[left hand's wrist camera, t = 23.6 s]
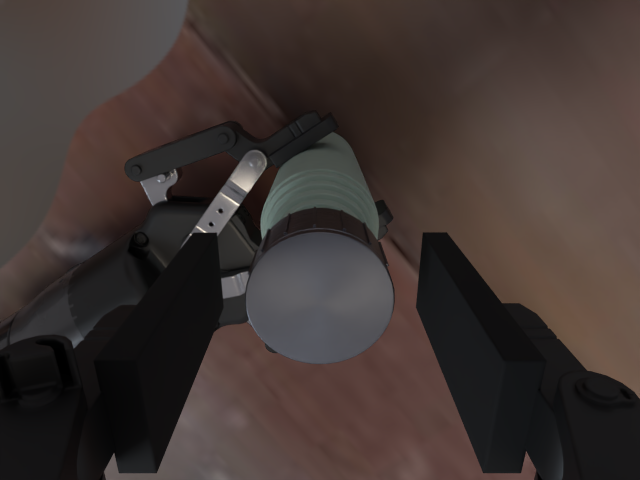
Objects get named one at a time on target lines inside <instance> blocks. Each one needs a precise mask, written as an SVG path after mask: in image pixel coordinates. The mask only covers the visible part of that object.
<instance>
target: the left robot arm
mask: <svg viewBox="0 0 640 480" xmlns="http://www.w3.org/2000/svg"><path fill="white" fill-rule="evenodd" d="M223 308H224V303H223V292H222V281H221V270H220V260H219V249H218V238H217V233H193V234H192V235H191V236H190V237H189V239H188V240H187V241H186V242H185V244H184V245H183V246H182V248H181V249H180V250H179V251H178V253H177V254H176V255H175V257H174V258H173V259H172V260H171V262H170V263H169V264H168V266H167V267H166V268H165V269H164V271H163V272H162V273H161V275H160V276H159V277H158V278H157V280H156V281H155V282H154V283H153V285H152V286H151V287H150V289H149V290H148V291H147V292H146V294H145V295H144V296H143V298H142V299H141V300H140V301H139V303H138V304H137V305H120V306H118V307H117V308H115V309H113V310H112V311H110V312H108V313H107V314H105V315H104V316H103V317H102V318H101V319H100V320H99V321H98V322H97V323H96V325H95V326H94V327H93V330H90V331H89V333H88V334H87V335H86V336H85V337H84V340H83V341H81V342H80V343H79V344H78V345H77V346H76V347H75V348H73V344H72V341H71V340H70V339H68V338H67V337H65V336H60V335H55V334H52V335H39V336H35V337H31V338H27V339H23V340H20V341H18V342H15V343H13V344H11V345H8V346H6V347H4V348H3V349H1V350H0V480H106V478H105V474H104V470H105V468H106V466H107V465H108V463H109V461H110V459H111V457H112V455H113V453H115V458H116V462H117V466H118V471H119V473H157V471H158V469H159V466H160V464H161V461H162V459H163V456H164V454H165V451H166V449H167V446H168V444H169V441H170V439H171V437H172V434H173V432H174V429H175V427H176V424H177V422H178V419H179V417H180V414H181V412H182V409H183V407H184V404H185V402H186V400H187V397H188V395H189V392H190V390H191V387H192V385H193V382H194V380H195V377H196V375H197V372H198V370H199V367H200V365H201V363H202V360H203V358H204V355H205V353H206V350H207V348H208V345H209V343H210V340H211V338H212V335H213V333H214V330H215V328H216V326H217V323H218V321H219V318H220V316H221V313H222V311H223ZM416 308H417V311H418V313H419V316H420V318H421V321H422V323H423V326H424V328H425V330H426V333H427V335H428V338H429V340H430V343H431V345H432V348H433V350H434V353H435V355H436V358H437V360H438V363H439V365H440V367H441V370H442V372H443V375H444V377H445V380H446V382H447V385H448V387H449V390H450V392H451V395H452V397H453V400H454V402H455V404H456V407H457V409H458V412H459V414H460V417H461V419H462V422H463V424H464V427H465V429H466V432H467V434H468V437H469V439H470V441H471V444H472V446H473V449H474V451H475V454H476V456H477V459H478V461H479V464H480V466H481V469H482V471H483V473H521V471H522V466H523V462H524V458H525V453H526V451H527V453H528V455H529V457H530V459H531V460H532V462H533V464H534V466H535V468H536V474H535V478H534V480H640V399H639V398H638V396H637V395H636V394H635V392H633V391H632V390H631V389H629V388H628V387H627V386H625V385H624V384H623V383H621V382H619V381H617V380H615V379H612V378H610V377H608V376H606V375H602V374H599V373H595V372H592V371H587V370H586V369H585V368H584V367H583V366H582V364H581V363H580V362H579V361H578V360H577V359H576V358H575V357H574V355H573V354H572V353H571V352H570V351H569V350H568V349H567V348H566V346H565V345H564V344H563V343H562V342H561V341H560V340H559V339H557V336H556V335H555V334H554V333H553V332H552V331H551V330H550V329H548V326H547V325H546V324H545V323H544V322H543V321H542V319H541V318H540V317H539V316H538V315H537V314H536V313H534V312H533V311H531V310H529V309H528V308H526V307H524V306H523V305H521V304H519V303H501V301H500V300H499V299H498V298H497V296H496V295H495V294H494V292H493V291H492V290H491V289H490V287H489V286H488V285H487V283H486V282H485V281H484V280H483V278H482V277H481V276H480V275H479V273H478V272H477V271H476V269H475V268H474V267H473V266H472V264H471V263H470V262H469V260H468V259H467V258H466V257H465V255H464V254H463V253H462V251H461V250H460V249H459V248H458V246H457V245H456V244H455V242H454V241H453V240H452V239H451V237H450V236H449V235H448V234H447V233H423V238H422V249H421V260H420V270H419V281H418V292H417V303H416Z"/></svg>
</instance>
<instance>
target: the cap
mask: <svg viewBox="0 0 640 480" xmlns="http://www.w3.org/2000/svg"><path fill="white" fill-rule="evenodd" d="M387 266H389V265H388V262H387V259H386V256H385V253H384V251H383V248H382V245H381V242H378V241H377V239H376V237H375V236H374V234H373V233H372V232H371V230H370V229H369V228H368V227H367V225H366V223H365V222H364V223H362V222H361V221H360V220H358V219H357V218H355V217H354V216H352V215H350V214H348V213H345V212H343V210H340V211H339V210H336V209H330V208H316V207H314V208H309V209H304V210H300V211H297V212H294V213H292V214H290V213H289V214H288V215H287V216H286V217H284V218H283V219H281V220H280V221H278V222H277V223H276V224H275V225H274V226H272V228H271V229H269V228H268V230H267V232H266V235H265V236H264V238H263V240H262V242H261V244H260V246H259V249H258V250H256V251H255V254H254V257H253V260H252V263H251V265H250V268H249V271H248V274H247V275H249V278H248V281H247V284H246V290H245V305H246V311H247V315H248V318H249V320H250V323H251V325H252V327H253V328H254V330H255V332H256V333H257V335H258V336H259V337H260V338H261V339H262V340H263V341H264V342H265V343H266V344H267V345H268V346H269V347H270V348H272V349H273V350H275V351H276V352H278V353H279V354H281V355H283V356H285V357H288V358H290V359H293V360H296V361H300V362H304V363H310V364H329V363H335V362H340V361H343V360H347V359H349V358H352V357H354V356H356V355H358V354H360V353H362V352H364V351H365V350H366V349H368V348H369V347H370V346H372V345H373V344H374V343H375V342H376V341H377V340H378V339H379V337H380V336H381V335H382V334H383V332H384V331H385V329H386V328H387V326H388V324H389V321H390V319H391V316H392V313H393V309H394V287H393V283H392V279H391V276H390V273H389V270H388V267H387Z"/></svg>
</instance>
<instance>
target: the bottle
mask: <svg viewBox="0 0 640 480" xmlns="http://www.w3.org/2000/svg"><path fill="white" fill-rule="evenodd" d="M314 207H316V208H330V209H336V210H339V211H340V210H343V212H345V213H348V214H350V215H352V216H354V217H355V218H357V219H358V220H360V221H361V222H362V223H364V222H365V223H366V225H367V227H368V228H369V229H370V230H371V232H372V233H373V234H374V236H375V237H376V239H378V231H379V218H378V212H377V209H376V206H375V203H374V201H373V198H372V196H371V193H370V191H369V189H368V186H367V184H366V181H365V179H364V176H363V174H362V172H361V169H360V167H359V164H358V162H357V159H356V157H355V155H354V152H353V150H352V148H351V147H350V145H349V144H348V142H347V141H346V140H345V139H344V138H342V137H341V136H339V135H338V134H336V133H334V132H332V133H330V134H329V135H327V136H325V137H324V138H322V139H321V140H319V141H318V142H316V143H315V144H313V145H312V146H310V147H308V148H307V149H305V150H304V151H302V152H301V153H299V154H298V155H296V156H294V157H293V158H291V159H290V160H288V161H287V162H285V163H284V164H282V165H281V166H280V168H279V170H278V173H277V175H276V178H275V180H274V183H273V185H272V187H271V190H270V192H269V195H268V197H267V200H266V202H265V204H264V207H263V211H262V215H261V235H262V240H263V238H264V236H265V235H266V232H267V230H268V228H269V229H271V228H272V226H274V225H275V224H276V223H277V222H278V221H280V220H281V219H283V218H284V217H286V216H287V215H288V214H289V213H290V214H292V213H294V212H297V211H300V210H304V209H309V208H314Z"/></svg>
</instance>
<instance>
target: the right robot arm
mask: <svg viewBox="0 0 640 480" xmlns="http://www.w3.org/2000/svg"><path fill="white" fill-rule="evenodd" d="M338 127H339V126H338V123H337V121H336V120H335V118H334V116H333V115H332V113H331V112H330V113H328V114H326V115H325V116H323V117H320V116H319V114H318V112H317V111H316V110H314V111H309V112H305V113H304V114H302V115H301V116H299V117H298V118H296V119H295V120H293V121H292V122H290V123H289V124H287V125H286V126H284V127H283V128H281V129H280V130H278V131H277V132H275V133H274V134H272V135H271V136H269V137H267V138H264V139H258V138H255V137H253V136H252V135H250V134H249V133H248V132H246V131H245V130H244V129H243V127H242V126H241V124H240V123H238V122H237V121H233V120H231V121H227V122H224V123H222V124H219V125H216V126H213V127H211V128H208V129H205V130H203V131H200V132H197V133H194V134H192V135H189V136H186V137H184V138H181V139H178V140H175V141H173V142H170V143H167V144H165V145H162V146H159V147H156V148H154V149H151V150H148V151H146V152H144V153H142V154H140V155H138V156H135V157H133V158H131V159H129V160H128V161H127V162H126V164H125V173H126V175H127V176H128V177H129V178H130V179H131V180H133V181H137V182H140V183H141V185H142V187H143V189H144V190H145V192H146V194H147V196H148V198H149V200H150V202H151V204H152V207H151V208H150V210H149V212H148V214H147V217H146V219H145V220H144V222H143V223H142V224H140V225H139V226H137V227H136V228H134V229H133V230H131V231H130V232H128V233H127V234H125V235H124V236H122V237H121V238H119V239H118V240H116V241H115V242H113V243H112V244H110V245H109V246H107V247H106V248H104V249H103V250H101V251H100V252H98V253H97V254H95V255H94V256H92V257H91V258H89V259H88V260H86V261H85V262H83V263H80V264H78V265H76V266H74V267H72V268H71V269H69V270H68V272H67V273H66V274H65V275H64V276H62V277H61V278H59V279H58V280H56V281H55V282H53V283H52V284H50V285H49V286H48V287H46V288H45V289H44V290H43V291H42V292H41V293H40V294H38V295H37V296H36V297H35V298H34V299H33V300H32V301H31V302H30V303H29V304H27V305H26V306H25V307H23V308H22V309H20V310H18V311H17V312H15V313H14V314H12V315H11V316H9V317H8V318H6V319H5V320H3V321H2V322H0V350H1V349H3V348H4V347H6V346H8V345H11V344H13V343H15V342H18V341H20V340H23V339H27V338H31V337H35V336H39V335H52V334H55V335H60V336H65V337H67V338H68V339H70V340H71V341H72V344H73V348H75V347H76V346H77V345H78V344H79V343H80V342H81V341H83V340H84V337H85V336H86V335H87V334H88V333H89V331H90V330H93V327H94V326H95V325H96V323H97V322H98V321H99V320H100V319H101V318H102V317H103V316H104V315H105V314H107V313H108V312H110V311H112V310H113V309H115V308H117V307H118V306H120V305H137V304H138V303H139V301H140V300H141V299H142V298H143V296H144V295H145V294H146V292H147V291H148V290H149V289H150V287H151V286H152V285H153V283H154V282H155V281H156V280H157V278H158V277H159V276H160V275H161V273H162V272H163V271H164V269H165V268H166V267H167V266H168V264H169V263H170V262H171V260H172V259H173V258H174V257H175V255H176V254H177V253H178V251H179V250H180V249H181V248H182V246H183V245H184V244H185V242H186V241H187V240H188V239H189V237H190V236H191V235H192V234H193V233H217V238H218V249H219V260H220V270H221V281H222V292H223V303H224V308H223V311H222V313H221V316H220V318H219V321H218V323H217V326H216V328H215V330H214V331H216V330H217V329H219V328H221V327H223V326H226V325H231V324H242V323H245V322H247V323H248V324H250V325H251V323H250V320H249V318H248V315H247V311H246V305H245V290H246V284H247V281H248V278H249V275H247V274H248V271H249V268H250V265H251V263H252V260H253V257H254V254H255V251H256V250H258V249H259V246H260V244H261V242H262V235H261V231H259V230H258V229H257V228H256V227H255V225H254V223H253V220H252V218H251V215H250V213H249V212H248V211H247V209H246V208H245V206H244V205H243V204H241V203H242V201H243V200H244V198H245V197H246V195H247V194H248V192H249V191H250V190H251V188H252V187H253V185H254V184H255V183H256V181H257V180H258V178H259V177H260V176H261V174H262V173H263V171H265V170H266V169H268V168H269V167H271V166H272V165H275V166H276V168H278V167H279V166H281V165H282V164H284V163H285V162H287V161H288V160H290V159H291V158H293V157H294V156H296V155H298V154H299V153H301V152H302V151H304V150H305V149H307V148H308V147H310V146H312V145H313V144H315V143H316V142H318V141H319V140H321V139H322V138H324V137H325V136H327V135H329V134H330V133H332V132H333V131H334V130H336V129H337V128H338ZM224 151H225V152H226V153H228V154H229V155H231V156H232V157H233V158H235V159H236V160H237V161H239V162H240V163H239V164H238V166H237V167H236V169H235V170H234V172H233V173H232V174H231V176H230V177H229V179H228V180H227V182H226V183H225V184H224V186H223V187H222V188H221V190H220V191H219V193H218V194H217V196H216V197H215V198H208V197H191V196H173V195H172V192H171V189H172V186H173V185H174V184H175V183H176V182H178V181H179V180H180V179H181V177H182V175H183V170H182V167H183V166H185V165H188V164H191V163H194V162H197V161H199V160H202V159H205V158H208V157H210V156H213V155H216V154H219V153H222V152H224ZM240 204H241V205H240ZM375 206H376V209H377V212H378V218H379V231H378V239H377V241H378V240H380V239H381V238H383V236H384V235H385V234H386V233H387V231H388V229H387V227H386V225H387V224H388V223H390V222H391V221H392V220H393V216H392V214H391V212H390V210H389V208H388V207H387V205H386V203H385V202H384V200H379V201H377V202H375ZM251 326H252V325H251ZM265 347H266V349H267V350H268V351H270V352H272V353H278V352H276V351H275V350H273V349H272V348H270V347H269V346H268V345H267V344H266V343H265Z"/></svg>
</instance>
